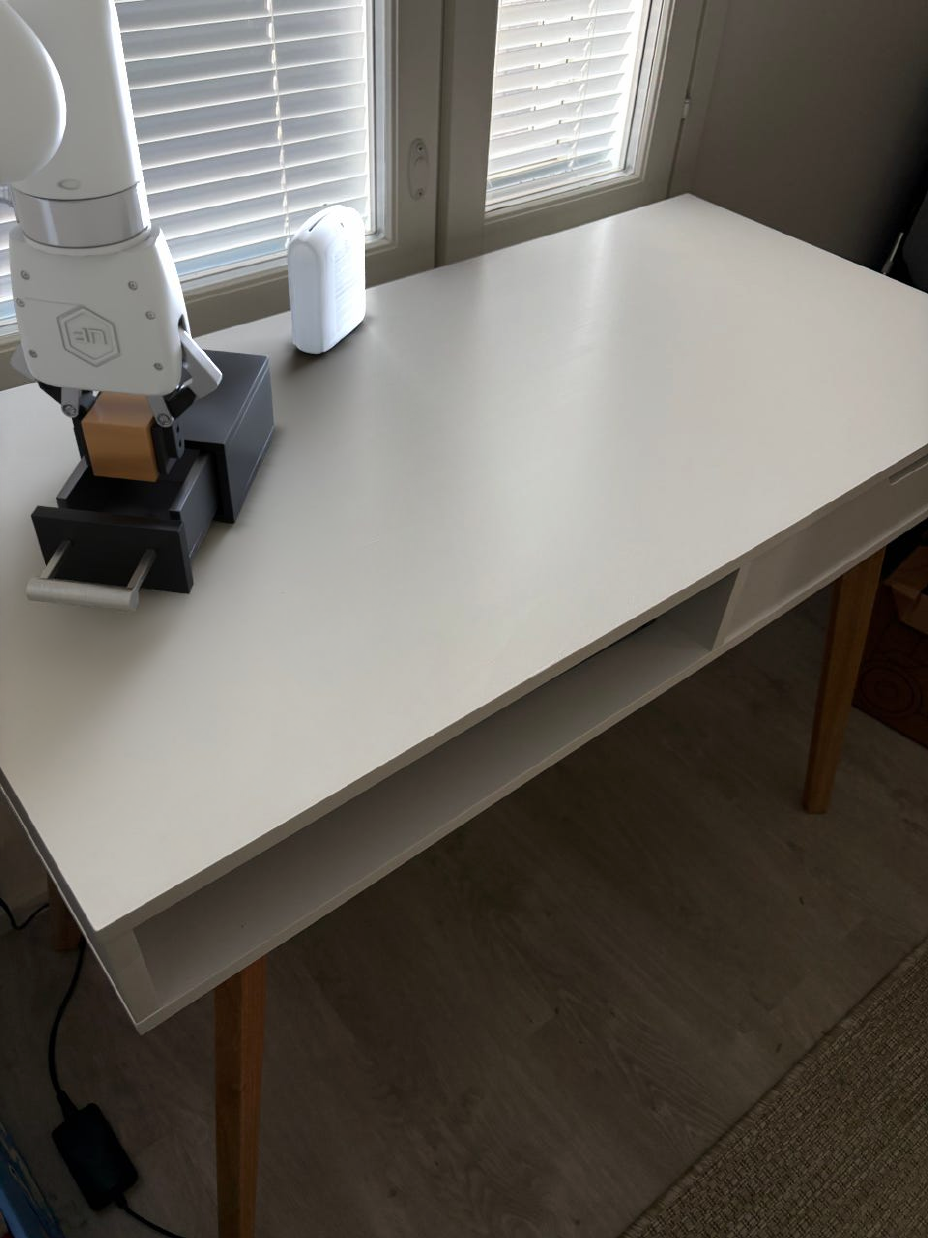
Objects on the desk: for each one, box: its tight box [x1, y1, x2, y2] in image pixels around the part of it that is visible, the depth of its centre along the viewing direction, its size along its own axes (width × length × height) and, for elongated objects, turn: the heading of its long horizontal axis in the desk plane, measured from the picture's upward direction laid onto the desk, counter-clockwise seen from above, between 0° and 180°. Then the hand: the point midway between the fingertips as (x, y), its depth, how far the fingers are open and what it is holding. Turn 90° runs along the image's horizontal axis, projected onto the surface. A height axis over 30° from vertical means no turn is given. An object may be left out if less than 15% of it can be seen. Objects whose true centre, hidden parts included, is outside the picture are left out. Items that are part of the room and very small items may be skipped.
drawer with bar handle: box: [25, 448, 222, 613], centre depth 74 cm, size 18×10×6 cm, turn 174°
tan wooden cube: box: [81, 392, 160, 482], centre depth 72 cm, size 4×4×4 cm
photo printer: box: [286, 205, 366, 355], centre depth 100 cm, size 10×4×12 cm, turn 157°
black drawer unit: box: [72, 348, 276, 525], centre depth 83 cm, size 14×12×8 cm
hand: (134, 457), depth 73 cm, fingers closed on tan wooden cube, 4 cm apart
